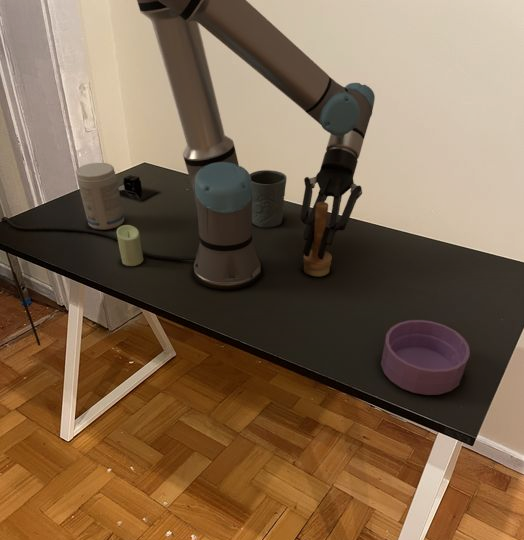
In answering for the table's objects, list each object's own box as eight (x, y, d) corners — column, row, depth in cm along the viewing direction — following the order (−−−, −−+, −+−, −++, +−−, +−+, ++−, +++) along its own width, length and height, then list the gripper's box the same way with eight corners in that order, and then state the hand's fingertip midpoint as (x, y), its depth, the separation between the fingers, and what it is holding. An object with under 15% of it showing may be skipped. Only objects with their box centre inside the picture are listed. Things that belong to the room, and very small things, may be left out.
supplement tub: (124, 214, 144) (115, 160, 134) (125, 229, 137) (115, 174, 127) (88, 217, 142) (76, 163, 133) (87, 233, 135) (74, 177, 126)
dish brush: (297, 271, 120) (301, 206, 110) (310, 260, 124) (316, 195, 114) (322, 279, 117) (328, 213, 107) (335, 267, 121) (342, 202, 111)
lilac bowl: (368, 377, 93) (372, 351, 89) (397, 336, 102) (402, 311, 98) (446, 408, 87) (455, 382, 83) (470, 362, 96) (479, 336, 92)
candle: (147, 262, 123) (142, 230, 118) (127, 268, 121) (121, 236, 116) (138, 253, 127) (132, 222, 121) (118, 259, 124) (112, 228, 119)
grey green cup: (252, 230, 136) (252, 185, 129) (244, 214, 144) (243, 171, 136) (289, 226, 138) (291, 182, 131) (279, 210, 146) (280, 168, 138)
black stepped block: (110, 192, 155) (107, 177, 152) (126, 184, 160) (124, 169, 157) (142, 201, 150) (139, 185, 147) (158, 192, 155) (156, 177, 152)
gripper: (377, 168, 117) (349, 268, 116) (311, 158, 121) (283, 254, 120) (375, 152, 110) (345, 258, 108) (305, 142, 114) (275, 243, 113)
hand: (313, 255), depth 114 cm, fingers closed on dish brush, 3 cm apart
